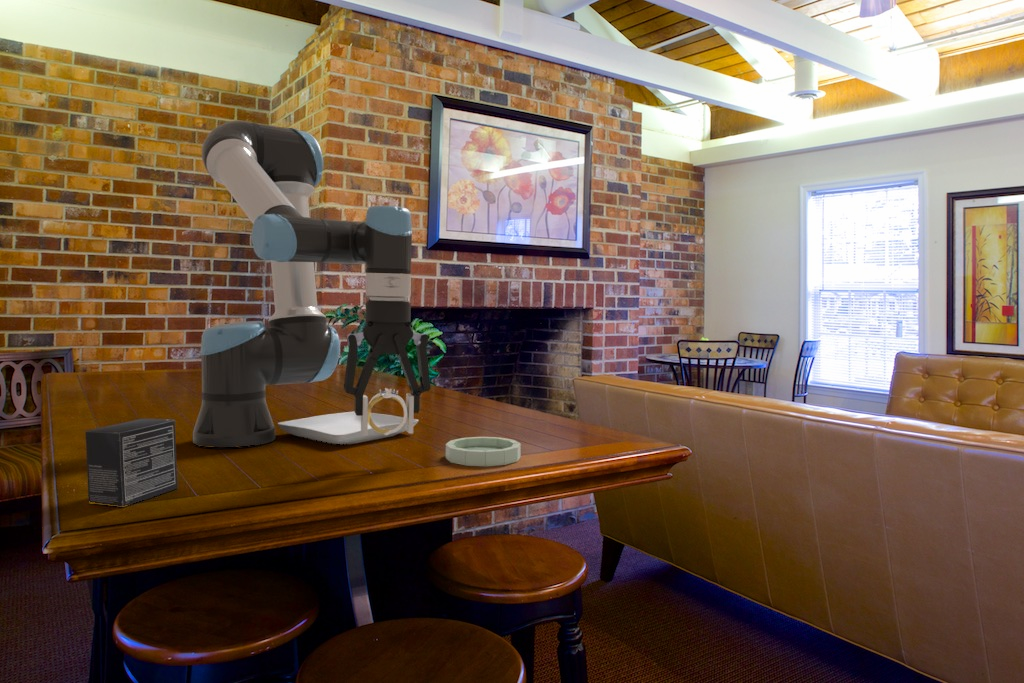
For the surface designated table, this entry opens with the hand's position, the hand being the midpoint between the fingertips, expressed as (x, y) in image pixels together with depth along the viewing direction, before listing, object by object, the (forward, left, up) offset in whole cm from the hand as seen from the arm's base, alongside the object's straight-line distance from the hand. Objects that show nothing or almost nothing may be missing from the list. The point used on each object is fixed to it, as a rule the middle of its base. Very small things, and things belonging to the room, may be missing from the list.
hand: (387, 432), depth 124 cm
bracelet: (0, 0, 0) cm, 1 cm away
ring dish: (+17, -1, -5) cm, 18 cm away
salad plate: (-3, +28, -6) cm, 29 cm away
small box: (-38, -9, -6) cm, 39 cm away
